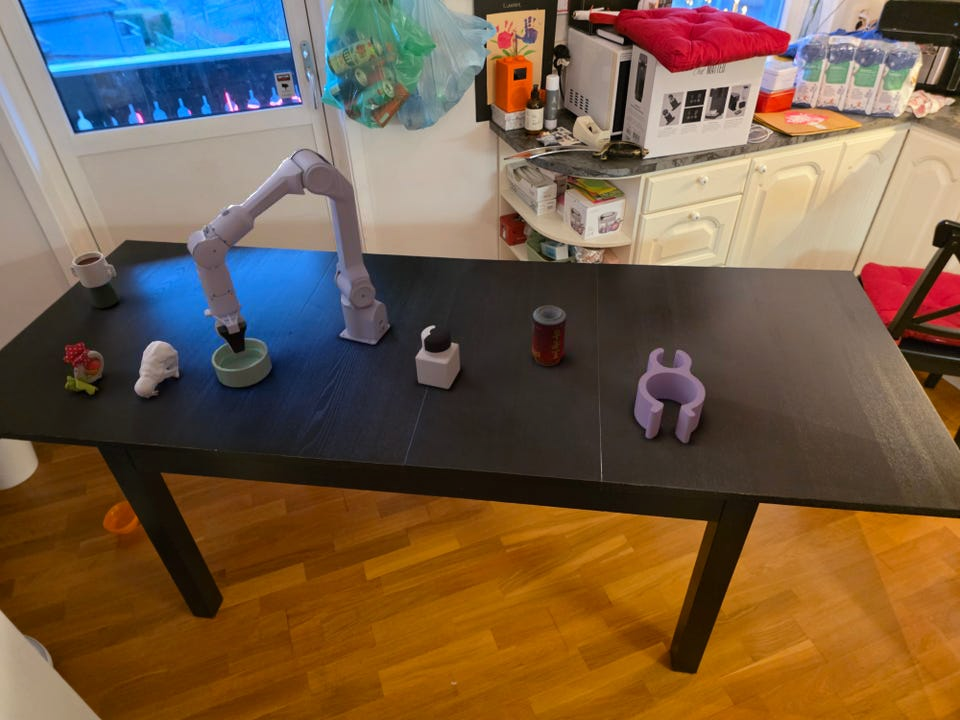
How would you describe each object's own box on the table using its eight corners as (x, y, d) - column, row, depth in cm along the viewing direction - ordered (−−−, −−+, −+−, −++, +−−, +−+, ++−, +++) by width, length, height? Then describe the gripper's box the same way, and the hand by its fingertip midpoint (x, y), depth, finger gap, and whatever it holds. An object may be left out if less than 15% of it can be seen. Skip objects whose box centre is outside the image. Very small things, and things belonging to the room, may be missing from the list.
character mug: (134, 295, 171) (116, 251, 163) (122, 311, 165) (102, 266, 157) (93, 295, 171) (73, 251, 163) (80, 311, 166) (58, 266, 158)
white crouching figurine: (174, 338, 141) (143, 377, 132) (188, 366, 146) (159, 406, 138) (147, 335, 142) (115, 374, 133) (162, 363, 148) (132, 403, 139)
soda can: (547, 344, 150) (549, 299, 142) (570, 358, 146) (573, 313, 138) (524, 356, 147) (525, 311, 139) (546, 372, 142) (549, 326, 135)
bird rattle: (89, 383, 146) (57, 396, 138) (84, 335, 144) (51, 344, 135) (114, 386, 145) (84, 399, 137) (110, 338, 143) (78, 347, 134)
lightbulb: (246, 366, 139) (233, 323, 132) (220, 363, 140) (205, 320, 134) (259, 348, 144) (247, 306, 137) (234, 345, 145) (220, 304, 138)
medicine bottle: (460, 369, 144) (458, 324, 136) (448, 390, 138) (445, 344, 131) (430, 363, 146) (426, 318, 138) (417, 383, 140) (412, 338, 133)
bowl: (282, 361, 147) (278, 344, 144) (251, 394, 139) (245, 376, 136) (240, 351, 151) (234, 333, 148) (206, 382, 143) (200, 364, 139)
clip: (635, 371, 142) (639, 345, 137) (695, 377, 140) (701, 351, 135) (633, 436, 126) (638, 410, 122) (700, 444, 124) (707, 418, 120)
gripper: (191, 278, 135) (210, 331, 144) (205, 312, 125) (224, 367, 134) (226, 268, 138) (242, 322, 146) (242, 301, 128) (258, 356, 136)
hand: (236, 343), depth 140 cm, fingers closed on lightbulb, 6 cm apart
